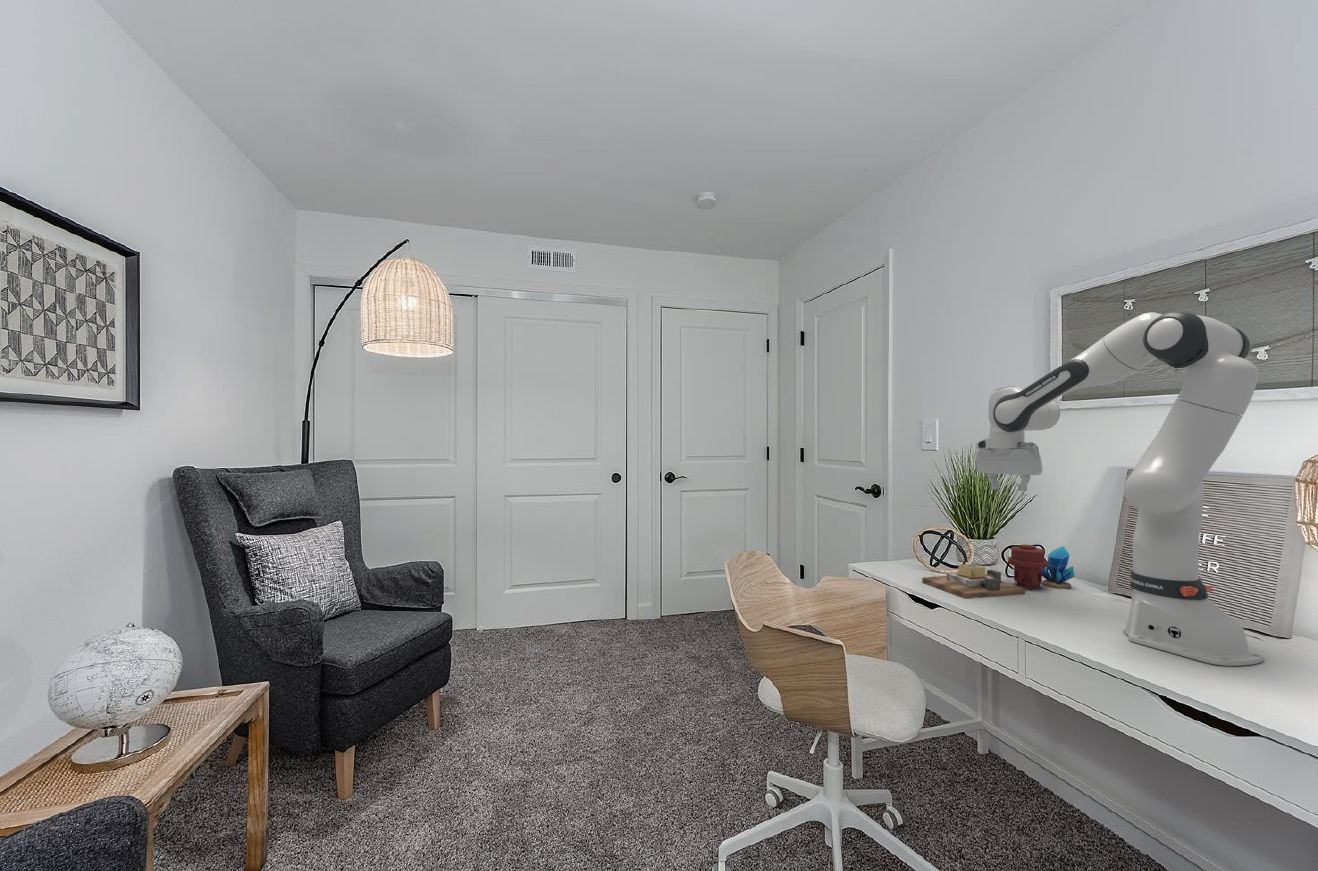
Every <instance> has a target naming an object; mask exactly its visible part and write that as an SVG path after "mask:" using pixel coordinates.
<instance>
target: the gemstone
mask: <svg viewBox="0 0 1318 871" xmlns="http://www.w3.org/2000/svg"><path fill="white" fill-rule="evenodd" d="M1047 556H1048V557H1047V561H1048V567H1046V568H1043V569H1042V578H1044V579H1042V583H1041V584H1042V585H1043V586H1045V587H1048V588H1052V589H1058V588H1069V589H1071V588H1072V584H1071V583H1070V582H1068V581H1069V580H1071V579H1073V578H1075V572H1074V566H1073V565H1072V566H1069V567H1068V568H1067V566H1068V563H1069V558H1070V553H1069V552H1068V550H1067V549H1066V548H1065V546H1064V545H1061V546H1059V547H1057V548H1055V549H1053V550H1052V551H1051V552H1050V553H1049V554H1048V555H1047Z"/></svg>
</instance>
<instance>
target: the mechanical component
mask: <svg viewBox="0 0 1318 871" xmlns="http://www.w3.org/2000/svg"><path fill="white" fill-rule="evenodd" d="M1010 553H1011V554H1010V555H1011V556H1008V558H1007V560H1008V561H1007V562H1008V564H1009V565H1012V566H1013V580H1014V582H1016V586H1019V587H1022V588H1025V590H1031V589H1036V588H1037V589H1038V588H1040V587H1041V584H1042V581H1043V576H1042V569H1043V568H1046V569H1047V568H1048V560H1046V559H1045V550H1044V549H1042V548H1039V547H1037V546H1036V545H1033V544H1026V543H1023V544H1020V545H1019V546H1012V547H1011V552H1010Z"/></svg>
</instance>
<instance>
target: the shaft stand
mask: <svg viewBox="0 0 1318 871" xmlns="http://www.w3.org/2000/svg"><path fill="white" fill-rule="evenodd" d="M921 582H922V583H923V584H926V585H929V586H931V587H934V588H936V589H939V590H941V589H942V590H941V591H944V592H947V593H950V594H952V595H955V596H958V597H960V598H963V599H965V598H967V599H974V598H973V597H979V598H987V597H1000V596H1001V597H1002V596H1014V595H1015V596H1016V595H1025V594H1026V589H1025V588H1024V587H1023V586H1020V585H1017V584H1016V585H1015V584H1013V583H1009V582H1005V581H1002V572H1001V571H998V570H993V569H987V570H986V578H984V579H968V578H965V577H962V576H959V571H958V572H946V575H939V576H925V577H924V576H923V577H921Z"/></svg>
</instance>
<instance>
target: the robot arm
mask: <svg viewBox="0 0 1318 871" xmlns="http://www.w3.org/2000/svg"><path fill="white" fill-rule="evenodd" d="M1250 349H1251V344H1250V340H1249V337H1248V336H1247V334H1245V333H1244V332H1243V331H1242V330H1240V329H1239V328H1238V327H1236V326H1234V325H1231V324H1227V323H1225V322H1222V321H1220V320H1217V319H1216V318H1213V317H1208V316H1205V315H1200V314H1194V313H1191V312H1187V311H1186V312H1185V311H1177V312H1176V311H1175V312H1169V313H1165V314H1161V313H1158V312H1152V311H1151V312H1146V313H1145V312H1144V313H1142V314H1140V315H1138V316H1135V317H1133V318H1132V319H1130V320H1128V321H1126V322H1124V323H1122V324H1121V325H1118V327H1116V328H1115V329H1112V330H1111V331H1110V332H1109V333H1108V334H1106V335H1105V336H1103V337H1101V338H1100V339H1099V340H1097V341H1096V342H1095V343H1094V344H1092V345H1091V346H1089V347H1088V348H1087V349H1085V350H1083V351H1082V352H1080V353H1079V354H1078V355H1076V356H1074V357H1073V358H1071V359H1070V360H1068V361H1067V362H1065V363H1063V364H1062V365H1060V366H1058V367H1056V368H1054V369H1053V370H1052V371H1050V372H1048V373H1047V374H1045V375H1044V376H1042V377H1041V378H1039V379H1037V380H1036V381H1035V382H1033V383H1031V384H1029V385H1028V386H1027V387H1025V388H1024V389H1022V388H1021V387H1019V386H1013V385H1011V386H1005V387H1000V388H996V389H995V390H993V391H992V392H991V393H990V395H989V399H988V406H987V407H988V421H989V425H990V428H989V432H988V433H989V434H988V437H986V438H984V439H982V440H979V441H977V442H976V444H975V447H976V449H977V451H976V456H975V462H976V470H977V471H978V473H979V474H987V479H988V481H989V482H990V486H991V489H992V490H993V489H994V490H999V489H1000V488H1001V483H1000V482H998V480H997V478H998V474H999V475H1018V476H1019V478H1020V479H1021V480H1020V483H1019V484H1017V491H1020V492H1027V490H1028V484H1029V483H1030V480H1031V476H1040V475H1042V472H1043V464H1042V457H1041V454H1040V449H1039V446H1038V444H1036V443H1035V442H1032V441H1029V442H1026V440H1025V431H1029V432H1030V431H1044V430H1047V429H1051V428H1052V427H1054V426H1055V425H1056V424H1057V423H1058V421H1059V419H1060V415H1061V410H1060V407H1059V404H1058V403H1057V401H1056V399H1058V398H1060V397H1062V396H1063V395H1066V394H1067V393H1070V392H1073V391H1076V390H1079V389H1086V388H1091V387H1092V388H1093V387H1099V386H1108V385H1112V384H1116V383H1117V382H1118V383H1119V382H1120V381H1122V380H1125V379H1126V378H1129V377H1131V376H1132V375H1134V374H1136V373H1137V372H1139V371H1141V370H1142V369H1143V368H1144V367H1146V366H1148V365H1149V364H1150V363H1152V362H1153V361H1155V360H1159V361H1161V362H1163V363H1165V364H1166V365H1168V366H1169V367H1171V368H1173V369H1175V370H1177V369H1181V370H1183V372H1184V374H1185V381H1184V383H1183V386H1182V388H1181V390H1180V391H1179V393H1178V395H1177V396H1176V399H1175V401H1174V402H1173V405H1172V406H1171V407H1170V410H1169V412H1168V413H1167V415H1166V418H1165V419H1164V422H1163V423H1162V426H1161V427H1160V429H1159V431H1158V433H1156V435H1155V437H1154V438H1153V440H1152V441H1151V443H1150V444H1149V445H1148V447H1147V448H1146V450H1145V451H1144V452H1143V455H1142V456H1141V457H1140V459H1139V460H1138V462H1137V464H1136V465H1135V466H1134V468H1133V470H1132V471H1131V473H1130V475H1129V476H1128V478H1127V479H1126V481H1125V483H1124V486H1123V493H1124V494H1123V495H1124V497H1125V500H1127V502H1128V503H1129V505H1130V506H1131V507H1133V508H1134V509H1136V510H1138V511H1137V519H1136V524H1135V529H1134V532H1133V535H1132V570H1131V571H1130V582H1129V583H1130V584H1129V586H1130V589H1131V603H1130V608H1129V613H1128V618H1127V620H1126V625H1125V627H1124V629H1123V632H1124V634H1126V635H1127V636H1128V641H1130V642H1132V643H1136V644H1138V645H1143V646H1147V647H1151V648H1153V649H1156V650H1160V651H1164V652H1166V653H1167V652H1168V653H1172V654H1175V655H1178V656H1181V657H1186V658H1187V659H1188V658H1189V659H1192V660H1197V661H1200V662H1204V663H1207V664H1209V665H1210V664H1211V665H1216V666H1230V667H1231V666H1232V667H1233V666H1234V667H1236V666H1237V667H1238V666H1240V667H1241V666H1249V665H1256V664H1260V663H1263V662H1264V660H1265V659H1264V654H1263V653H1261V652H1258V651H1256V650H1254V649H1250V648H1249V646H1248V639H1247V636H1246V632H1245V629H1244V627H1243V626H1242V624H1241V623H1240V622H1238V621H1236V620H1235V618H1233V617H1231V616H1230V615H1229V614H1227V612H1225V611H1224V610H1223V609H1221V607H1219V605H1217V604H1215V603H1214V602H1213V601H1212V600H1211V599H1209V593H1208V592H1214V590H1213V589H1212V588H1214V585H1205V584H1204V583H1203V581H1202V579H1201V578H1200V577H1199V576H1200V575H1199V574H1200V571H1199V570H1200V566H1199V565H1200V563H1199V560H1200V559H1199V558H1200V557H1199V553H1200V552H1199V550H1200V548H1199V545H1200V535H1201V528H1202V521H1203V520H1202V519H1203V511H1204V510H1203V509H1204V497H1205V484H1204V481H1203V480H1204V478H1205V477H1206V475H1207V474H1208V472H1209V471H1210V470H1211V469H1212V467H1213V465H1214V464H1215V463H1216V461H1217V460H1218V458H1219V457H1220V456H1221V454H1223V452H1224V450H1225V448H1226V447H1227V445H1228V444H1229V441H1230V440H1231V438H1232V436H1233V435H1234V433H1235V431H1236V429H1237V428H1238V425H1239V424H1240V422H1241V420H1242V418H1243V416H1244V415H1245V413H1246V411H1247V409H1248V407H1249V406H1250V402H1251V401H1252V399H1253V396H1254V393H1255V390H1256V387H1257V384H1258V379H1259V375H1260V373H1259V372H1260V371H1259V369H1258V368H1257V366H1256V365H1255V364H1254V363H1253V362H1251V361H1250V360H1248V359H1247V357H1248V355H1249V353H1250Z"/></svg>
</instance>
